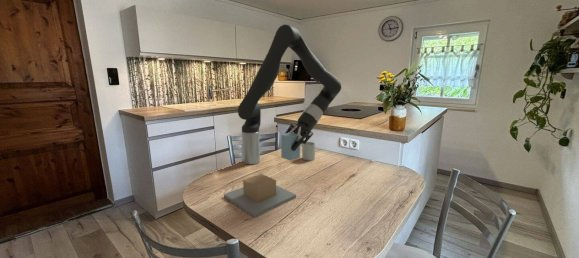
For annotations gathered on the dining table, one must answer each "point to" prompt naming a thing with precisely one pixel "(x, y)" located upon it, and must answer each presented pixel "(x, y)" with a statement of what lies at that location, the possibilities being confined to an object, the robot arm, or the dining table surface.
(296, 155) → the tower block
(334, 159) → the dining table surface
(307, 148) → the cup
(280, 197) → the tower base
